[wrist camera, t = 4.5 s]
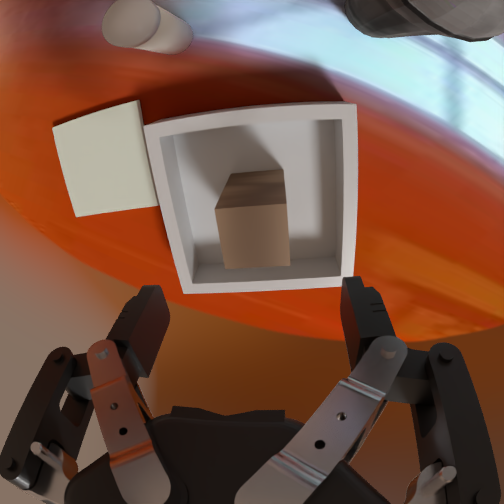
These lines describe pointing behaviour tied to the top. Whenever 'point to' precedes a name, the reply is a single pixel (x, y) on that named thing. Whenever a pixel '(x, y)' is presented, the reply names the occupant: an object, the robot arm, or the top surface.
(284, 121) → the grey tub
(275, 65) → the top surface
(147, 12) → the salt shaker
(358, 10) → the beverage cup
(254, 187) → the walnut block
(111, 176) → the sage coaster
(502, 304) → the top surface
